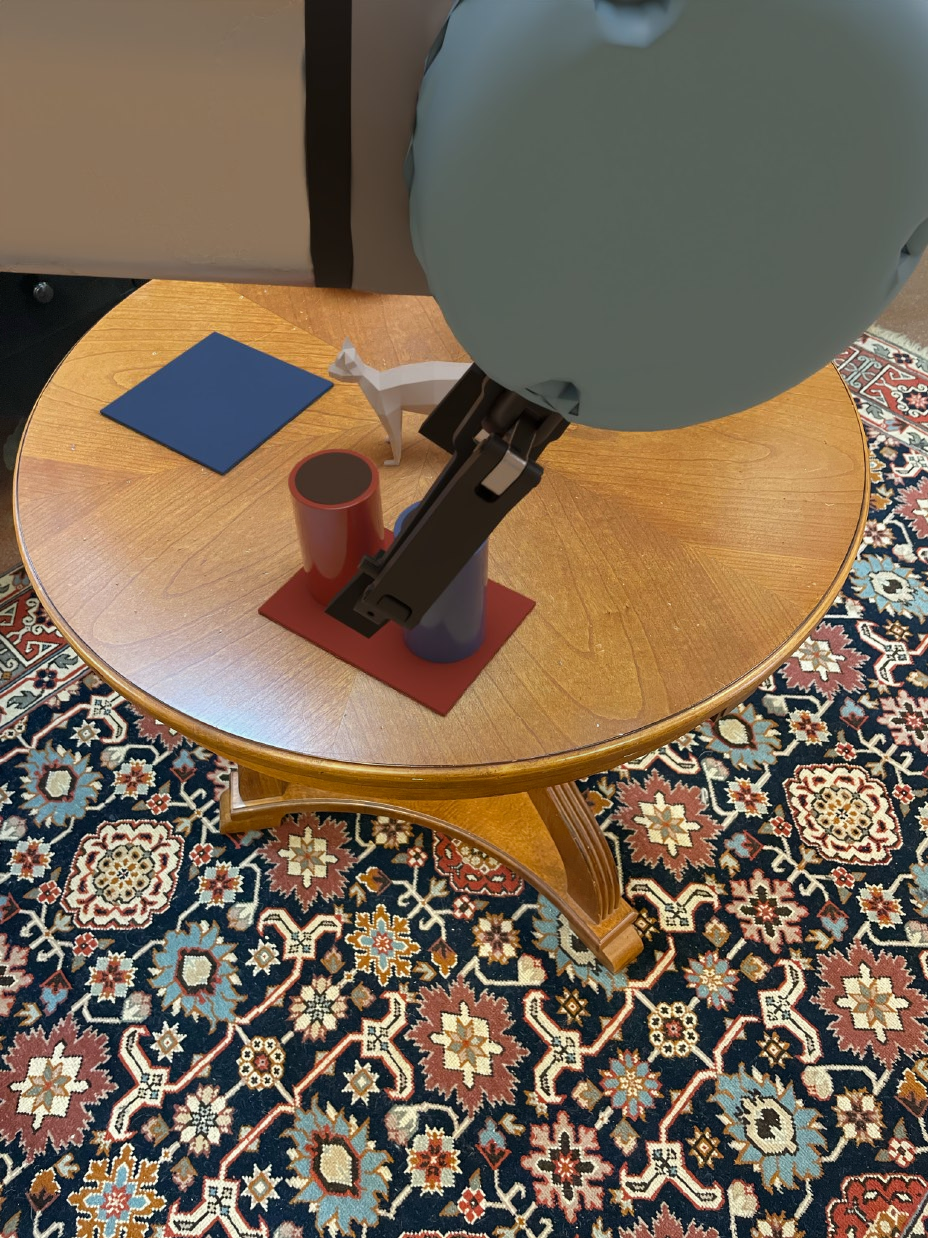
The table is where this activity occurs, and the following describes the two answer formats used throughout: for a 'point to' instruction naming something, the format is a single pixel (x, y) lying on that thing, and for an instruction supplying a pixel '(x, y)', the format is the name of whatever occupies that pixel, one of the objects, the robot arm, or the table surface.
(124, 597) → the table surface
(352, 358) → the cat figurine
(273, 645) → the table surface
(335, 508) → the red tumbler
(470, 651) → the blue tumbler
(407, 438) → the table surface
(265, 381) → the blue mat
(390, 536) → the red mat
